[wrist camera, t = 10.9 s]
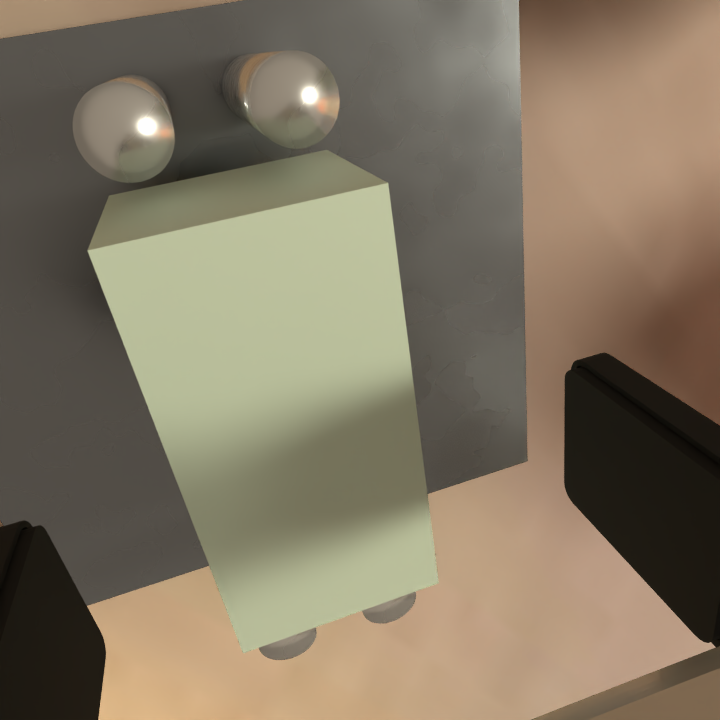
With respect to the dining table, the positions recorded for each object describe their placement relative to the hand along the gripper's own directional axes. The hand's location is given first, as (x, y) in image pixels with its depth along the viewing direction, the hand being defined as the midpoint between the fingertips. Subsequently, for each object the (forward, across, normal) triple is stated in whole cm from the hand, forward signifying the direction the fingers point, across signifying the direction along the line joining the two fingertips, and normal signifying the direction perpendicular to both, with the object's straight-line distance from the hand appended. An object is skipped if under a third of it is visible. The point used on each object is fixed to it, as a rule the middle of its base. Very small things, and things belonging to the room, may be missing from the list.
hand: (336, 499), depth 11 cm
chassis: (+8, 0, -1) cm, 8 cm away
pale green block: (+5, 0, -1) cm, 5 cm away
